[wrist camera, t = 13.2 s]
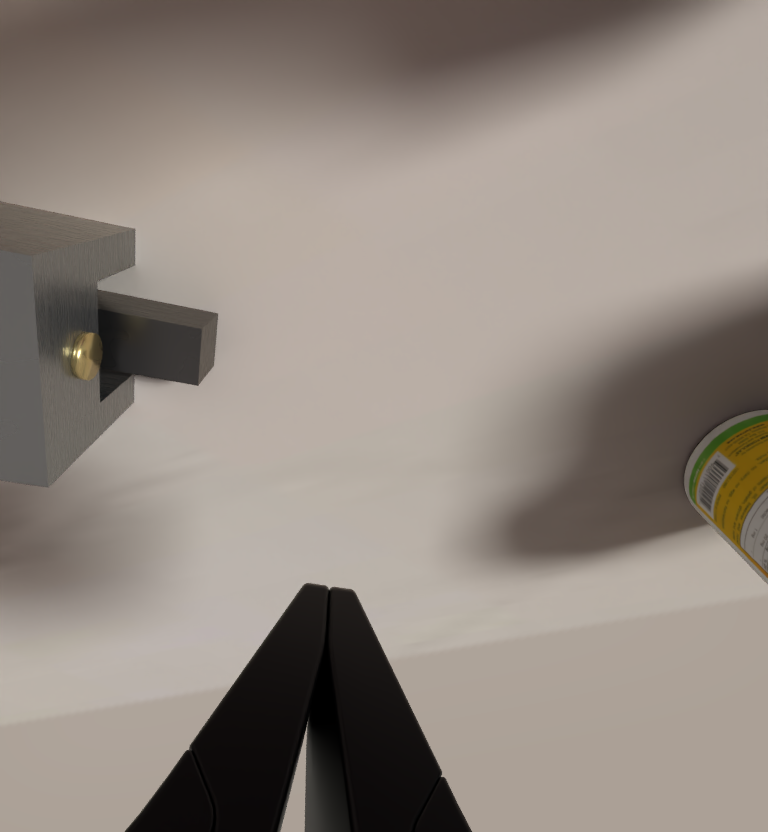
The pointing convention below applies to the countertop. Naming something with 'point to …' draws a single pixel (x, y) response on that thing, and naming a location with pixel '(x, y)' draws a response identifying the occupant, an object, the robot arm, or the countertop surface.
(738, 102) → the countertop surface
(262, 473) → the countertop surface
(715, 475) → the supplement bottle
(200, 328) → the coupler rail
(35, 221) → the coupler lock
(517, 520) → the countertop surface
